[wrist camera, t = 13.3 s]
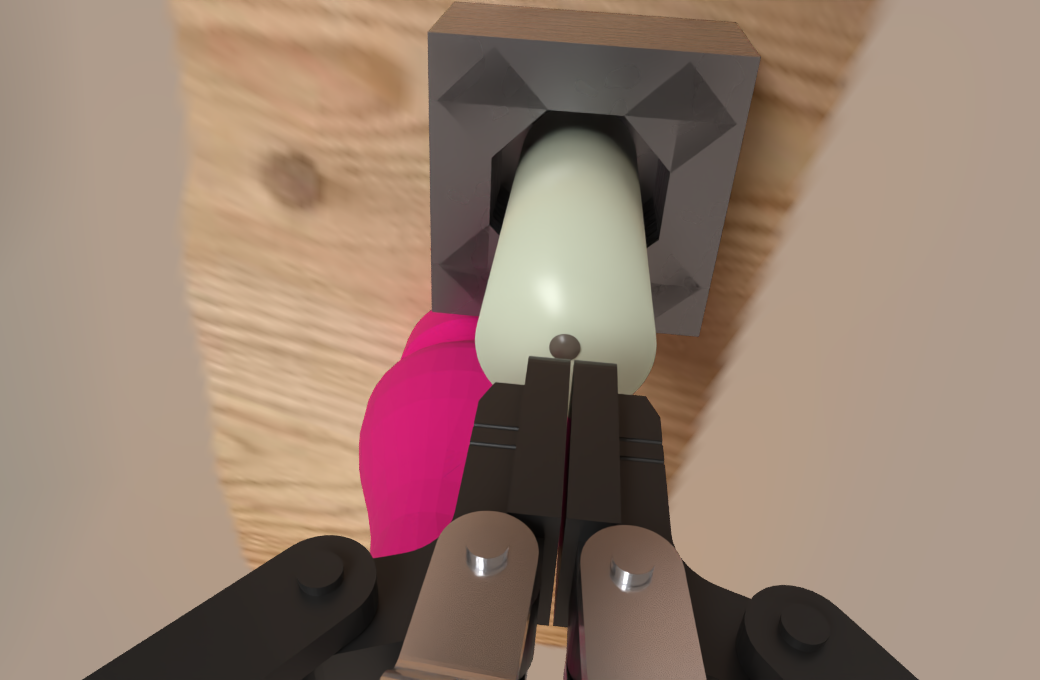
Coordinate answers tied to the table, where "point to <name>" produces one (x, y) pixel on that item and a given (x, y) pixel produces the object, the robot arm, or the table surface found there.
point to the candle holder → (587, 89)
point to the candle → (571, 256)
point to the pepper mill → (420, 434)
